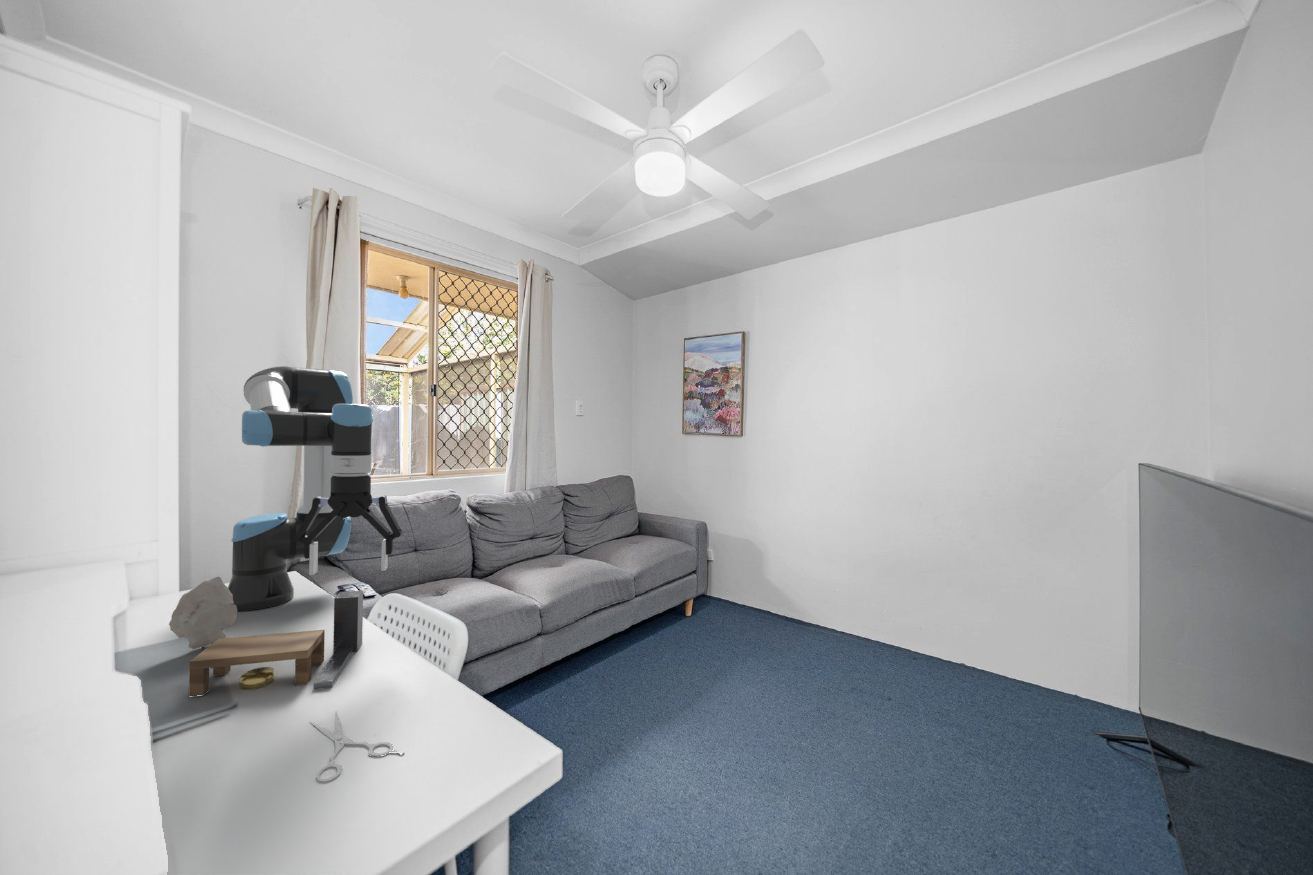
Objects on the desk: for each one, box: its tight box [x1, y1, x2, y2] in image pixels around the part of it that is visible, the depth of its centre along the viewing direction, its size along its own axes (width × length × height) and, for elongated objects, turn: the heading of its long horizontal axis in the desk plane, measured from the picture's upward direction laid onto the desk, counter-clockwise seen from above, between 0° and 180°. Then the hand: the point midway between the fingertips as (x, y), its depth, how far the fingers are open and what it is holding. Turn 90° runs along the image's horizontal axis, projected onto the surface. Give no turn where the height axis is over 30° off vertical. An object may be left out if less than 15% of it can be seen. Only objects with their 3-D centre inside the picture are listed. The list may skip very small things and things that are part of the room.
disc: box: [239, 666, 275, 691], centre depth 94 cm, size 5×5×2 cm
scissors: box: [308, 711, 397, 784], centre depth 78 cm, size 11×1×20 cm
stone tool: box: [168, 576, 238, 650], centre depth 108 cm, size 11×4×15 cm, turn 132°
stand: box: [188, 629, 325, 697], centre depth 96 cm, size 10×18×6 cm, turn 108°
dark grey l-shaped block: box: [312, 589, 364, 690], centre depth 102 cm, size 20×4×12 cm, turn 18°
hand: (349, 571), depth 109 cm, fingers open, 13 cm apart
